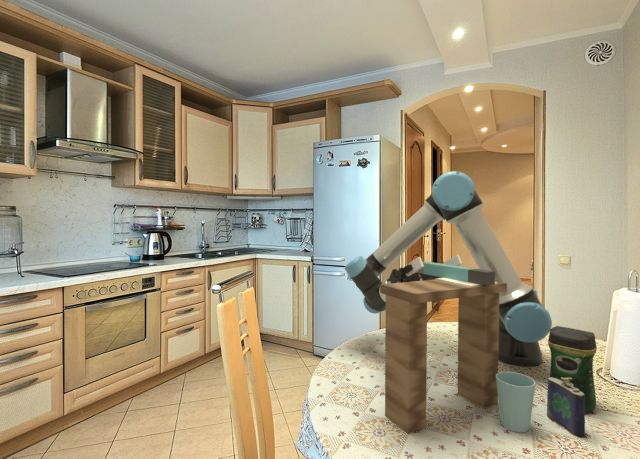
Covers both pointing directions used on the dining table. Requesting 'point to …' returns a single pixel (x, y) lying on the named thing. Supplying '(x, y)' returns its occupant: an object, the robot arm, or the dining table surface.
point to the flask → (566, 406)
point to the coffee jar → (574, 360)
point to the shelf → (411, 345)
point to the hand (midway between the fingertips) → (441, 260)
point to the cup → (515, 400)
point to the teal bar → (459, 273)
